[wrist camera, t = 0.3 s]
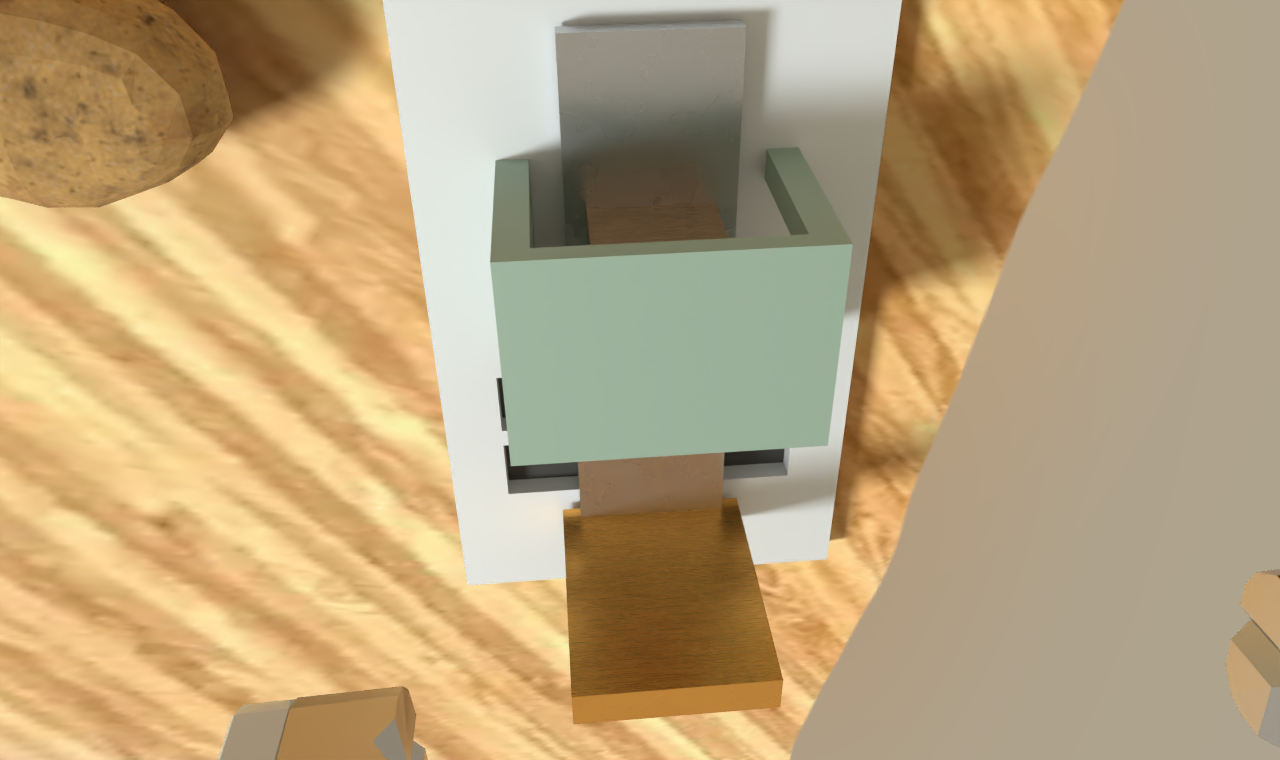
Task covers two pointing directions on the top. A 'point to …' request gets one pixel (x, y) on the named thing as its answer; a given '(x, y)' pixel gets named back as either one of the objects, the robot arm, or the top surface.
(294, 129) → the top surface
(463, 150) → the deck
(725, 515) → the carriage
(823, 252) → the tunnel
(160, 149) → the potato
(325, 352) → the top surface
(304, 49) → the top surface
